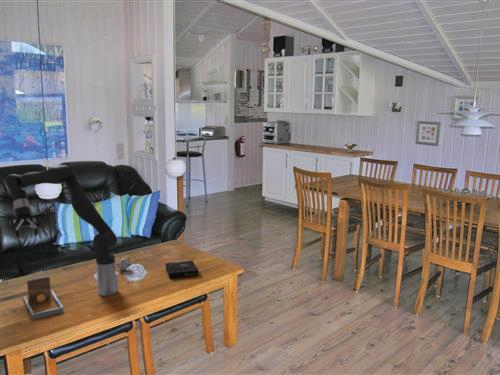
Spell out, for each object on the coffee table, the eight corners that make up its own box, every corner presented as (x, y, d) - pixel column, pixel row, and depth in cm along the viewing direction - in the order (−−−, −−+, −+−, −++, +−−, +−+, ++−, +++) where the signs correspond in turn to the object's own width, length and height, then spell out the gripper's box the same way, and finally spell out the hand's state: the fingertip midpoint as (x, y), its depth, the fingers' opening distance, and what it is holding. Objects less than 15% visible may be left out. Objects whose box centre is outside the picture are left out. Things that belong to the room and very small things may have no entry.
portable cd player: (192, 266, 275) (192, 260, 274) (197, 276, 259) (197, 270, 258) (165, 269, 269) (165, 262, 269) (169, 279, 254) (169, 273, 253)
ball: (47, 300, 226) (46, 293, 225) (42, 303, 222) (41, 296, 221) (40, 299, 226) (39, 292, 225) (35, 303, 222) (34, 295, 222)
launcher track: (23, 299, 227) (23, 296, 226) (52, 292, 234) (52, 290, 234) (28, 311, 214) (28, 308, 213) (59, 304, 221) (59, 301, 221)
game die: (125, 277, 264) (121, 269, 257) (115, 270, 268) (111, 261, 260) (136, 267, 269) (132, 258, 261) (126, 260, 272) (123, 251, 265)
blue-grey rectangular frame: (28, 310, 215) (28, 305, 214) (58, 303, 222) (58, 298, 222) (32, 319, 206) (32, 314, 205) (63, 312, 213) (63, 307, 213)
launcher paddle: (28, 299, 226) (26, 279, 223) (49, 294, 231) (48, 275, 229) (29, 301, 223) (27, 281, 221) (50, 296, 229) (49, 276, 226)
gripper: (9, 207, 232) (14, 236, 227) (37, 204, 241) (43, 232, 237) (5, 212, 237) (11, 241, 232) (34, 210, 246) (39, 237, 242)
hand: (27, 236), depth 235 cm, fingers open, 8 cm apart
